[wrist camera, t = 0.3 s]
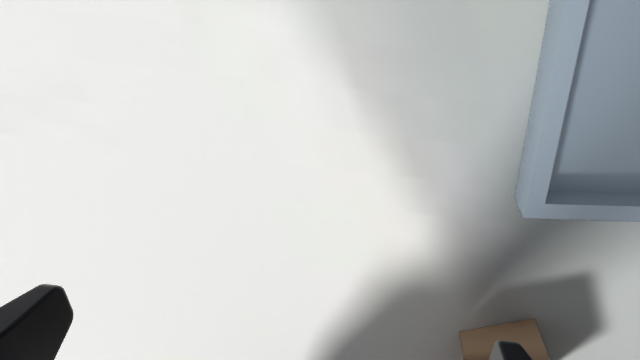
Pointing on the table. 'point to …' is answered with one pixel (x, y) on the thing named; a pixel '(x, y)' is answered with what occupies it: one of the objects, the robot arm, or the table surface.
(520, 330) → the walnut block
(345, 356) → the table surface
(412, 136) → the table surface
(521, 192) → the tray
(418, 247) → the table surface
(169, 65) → the table surface
